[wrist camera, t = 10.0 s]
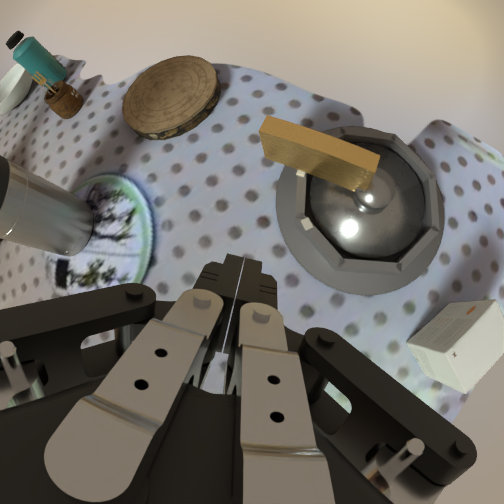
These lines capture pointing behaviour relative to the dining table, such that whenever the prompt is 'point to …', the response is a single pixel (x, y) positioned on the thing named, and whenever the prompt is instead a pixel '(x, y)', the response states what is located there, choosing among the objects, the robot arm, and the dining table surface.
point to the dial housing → (339, 264)
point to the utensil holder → (61, 97)
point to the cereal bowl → (14, 88)
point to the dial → (351, 189)
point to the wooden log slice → (171, 97)
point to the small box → (460, 343)
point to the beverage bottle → (36, 59)
